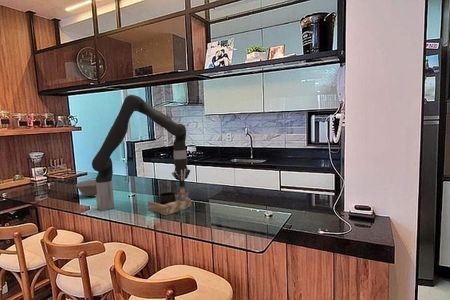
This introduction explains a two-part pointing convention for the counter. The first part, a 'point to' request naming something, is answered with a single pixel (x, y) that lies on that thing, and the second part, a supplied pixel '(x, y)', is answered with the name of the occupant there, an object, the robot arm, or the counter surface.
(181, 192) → the button
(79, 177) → the counter surface
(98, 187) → the robot arm
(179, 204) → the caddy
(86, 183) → the ceramic bowl
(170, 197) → the mug
